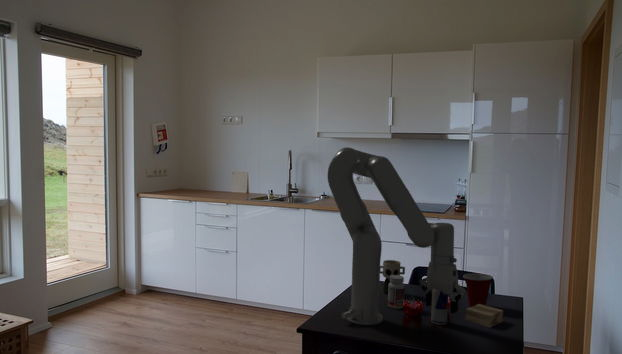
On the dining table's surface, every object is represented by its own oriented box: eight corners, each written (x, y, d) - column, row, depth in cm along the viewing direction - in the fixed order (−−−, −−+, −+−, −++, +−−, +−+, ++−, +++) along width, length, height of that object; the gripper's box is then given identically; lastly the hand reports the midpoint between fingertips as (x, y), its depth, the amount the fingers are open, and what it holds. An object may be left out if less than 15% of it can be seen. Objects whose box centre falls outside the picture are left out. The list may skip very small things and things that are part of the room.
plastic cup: (471, 300, 190) (472, 270, 189) (496, 307, 181) (498, 276, 181) (456, 305, 182) (457, 274, 182) (482, 312, 174) (483, 280, 174)
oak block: (489, 327, 159) (490, 315, 159) (465, 320, 166) (465, 308, 166) (502, 321, 165) (503, 310, 165) (478, 314, 172) (479, 303, 172)
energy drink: (447, 326, 160) (449, 290, 159) (431, 324, 161) (432, 289, 160) (446, 320, 165) (447, 286, 165) (430, 319, 166) (431, 285, 166)
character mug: (378, 295, 193) (379, 263, 192) (376, 289, 200) (377, 259, 199) (405, 296, 192) (406, 264, 192) (403, 291, 199) (404, 260, 199)
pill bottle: (405, 305, 181) (406, 275, 180) (402, 310, 175) (403, 279, 175) (389, 302, 183) (390, 273, 183) (385, 307, 178) (386, 277, 177)
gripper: (471, 262, 158) (470, 312, 159) (426, 253, 171) (426, 300, 172) (459, 265, 153) (458, 317, 154) (414, 256, 166) (413, 305, 167)
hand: (441, 308), depth 163 cm, fingers open, 9 cm apart
